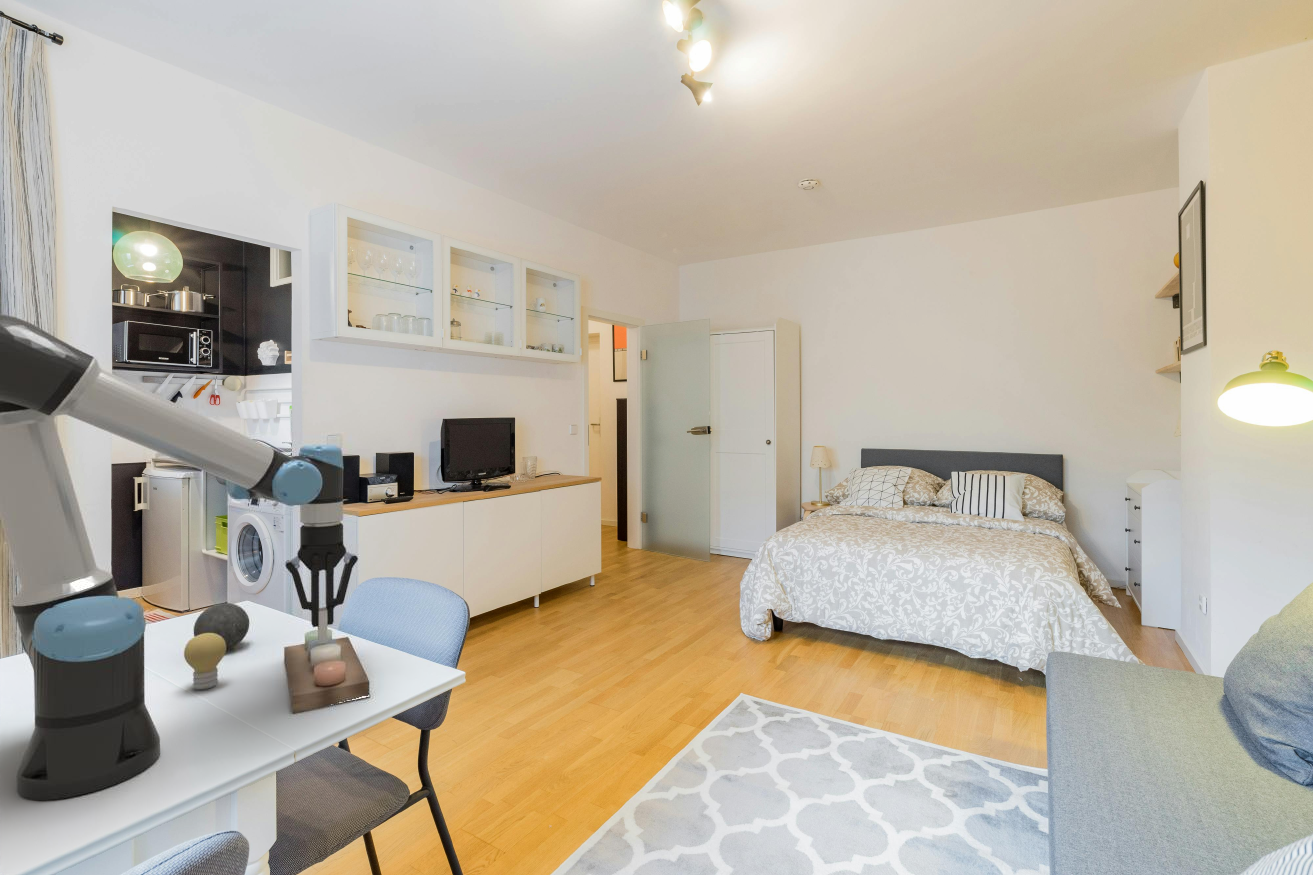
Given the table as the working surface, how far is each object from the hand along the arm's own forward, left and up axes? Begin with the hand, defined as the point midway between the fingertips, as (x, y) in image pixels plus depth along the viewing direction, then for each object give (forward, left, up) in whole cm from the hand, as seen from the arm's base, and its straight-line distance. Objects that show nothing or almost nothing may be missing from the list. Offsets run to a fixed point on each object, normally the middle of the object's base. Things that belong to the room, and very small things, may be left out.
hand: (322, 641), depth 126 cm
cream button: (0, -7, -2) cm, 7 cm away
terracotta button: (0, -14, -3) cm, 14 cm away
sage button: (0, +7, -3) cm, 8 cm away
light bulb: (-19, +3, -6) cm, 20 cm away
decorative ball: (-17, +25, -6) cm, 31 cm away
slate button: (0, 0, -3) cm, 3 cm away
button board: (0, -4, -6) cm, 7 cm away
